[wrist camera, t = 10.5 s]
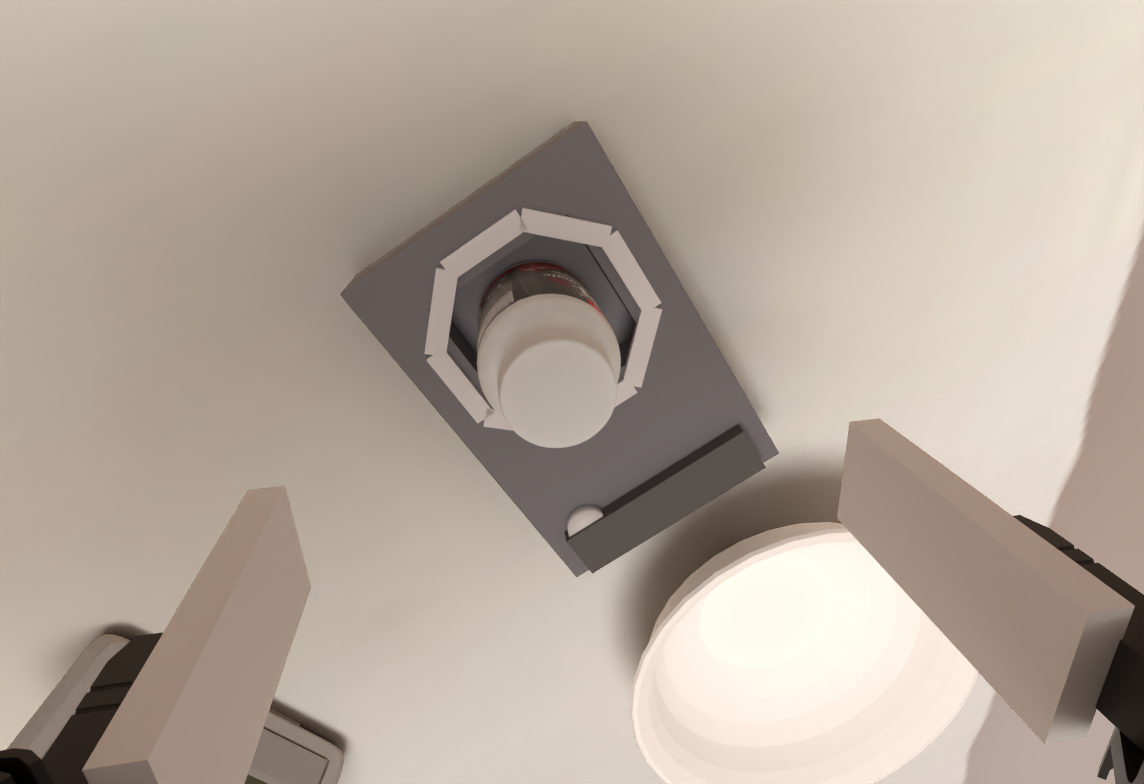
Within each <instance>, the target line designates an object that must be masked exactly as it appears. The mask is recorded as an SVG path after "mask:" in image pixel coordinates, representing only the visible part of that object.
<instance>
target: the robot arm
mask: <svg viewBox="0 0 1144 784" xmlns="http://www.w3.org/2000/svg"><path fill="white" fill-rule="evenodd" d="M837 519H838V520H839V521H840V522H841V523H842V524H843V525H844V526H845V527H846V528H847V530H848V531H849V532H850V533H851V534H852V535H853V536H854V537H855V538H856V539H857V540H858V542H859V543H860V544H861V545H862V546H863V547H864V548H865V549H866V550H867V551H868V552H869V553H870V555H871V556H872V557H873V558H874V559H875V560H876V561H877V562H878V563H879V564H880V565H881V567H882V568H883V569H884V570H885V571H886V572H887V573H888V574H889V575H890V576H891V577H892V579H893V580H894V581H895V582H896V583H897V584H898V585H899V586H900V587H901V588H902V589H903V590H904V592H905V593H906V594H907V595H908V596H909V597H910V598H911V599H912V600H913V601H914V602H915V604H916V605H917V606H918V607H919V608H920V609H921V610H922V611H923V612H924V613H925V614H926V615H927V617H928V618H929V619H930V620H931V621H932V622H933V623H934V624H935V625H936V626H937V627H938V629H939V630H940V631H941V632H942V633H943V634H944V635H945V636H946V637H947V638H948V639H949V641H950V642H951V643H952V644H953V645H954V646H955V647H956V648H957V649H958V650H959V651H960V652H961V654H962V655H963V656H964V657H965V658H966V659H967V660H968V661H969V662H970V663H971V664H972V666H973V667H974V668H975V669H976V670H977V671H978V672H979V673H980V674H981V675H982V676H983V678H984V679H985V680H986V681H987V682H988V683H989V684H990V685H991V686H992V687H993V688H994V689H995V691H996V692H997V693H998V694H999V695H1000V696H1001V697H1002V698H1003V699H1004V700H1005V701H1006V703H1007V704H1008V705H1009V706H1010V707H1011V708H1012V709H1013V710H1014V711H1015V712H1016V713H1017V714H1018V716H1019V717H1020V718H1021V719H1022V720H1023V721H1024V722H1025V723H1026V724H1027V725H1028V726H1029V727H1030V729H1031V730H1032V731H1033V732H1034V733H1035V734H1036V735H1037V736H1038V737H1039V738H1040V739H1041V741H1042V742H1043V743H1044V744H1047V743H1053V742H1058V741H1064V740H1070V739H1075V738H1081V737H1086V736H1087V733H1088V731H1089V728H1090V725H1091V723H1092V720H1093V717H1094V715H1095V712H1096V709H1098V710H1099V711H1100V712H1101V713H1102V714H1103V715H1104V716H1105V717H1106V718H1107V719H1108V720H1109V721H1111V723H1113V724H1114V725H1115V729H1114V731H1113V734H1112V736H1111V739H1110V741H1109V744H1108V746H1107V749H1106V752H1105V754H1104V757H1103V759H1102V762H1101V764H1100V767H1099V772H1098V777H1099V778H1102V779H1105V780H1106V778H1107V776H1108V773H1109V771H1110V770H1111V769H1113V768H1114V775H1115V781H1116V784H1144V595H1143V594H1142V593H1140V592H1139V591H1137V590H1136V589H1134V588H1133V587H1132V586H1130V585H1129V584H1128V583H1126V582H1125V581H1123V580H1122V579H1120V578H1119V577H1118V576H1116V575H1115V574H1113V573H1112V572H1111V571H1109V570H1108V569H1106V568H1105V567H1104V566H1102V565H1101V564H1099V563H1094V561H1093V559H1092V558H1091V557H1089V556H1088V555H1087V554H1085V553H1084V552H1082V551H1081V550H1079V549H1074V545H1072V544H1071V543H1070V542H1068V541H1067V540H1065V539H1064V538H1063V537H1061V536H1060V535H1058V534H1057V533H1055V532H1054V531H1053V530H1051V529H1050V528H1048V527H1045V526H1043V525H1041V524H1039V523H1036V522H1034V521H1032V520H1030V519H1027V518H1025V517H1023V516H1021V515H1017V516H1012V515H1010V514H1009V513H1008V512H1006V511H1005V510H1003V509H1002V508H1001V507H999V506H998V505H997V504H995V503H994V502H993V501H991V500H990V499H988V498H987V497H986V496H984V495H983V494H982V493H980V492H979V491H978V490H976V489H975V488H973V487H972V486H971V485H969V484H968V483H967V482H965V481H964V480H963V479H961V478H960V477H958V476H957V475H956V474H954V473H953V472H952V471H950V470H949V469H948V468H946V467H945V466H943V465H942V464H941V463H939V462H938V461H937V460H935V459H934V458H933V457H931V456H930V455H928V454H927V453H926V452H924V451H923V450H922V449H920V448H919V447H918V446H916V445H915V444H913V443H912V442H911V441H909V440H908V439H907V438H905V437H904V436H903V435H901V434H900V433H898V432H897V431H896V430H894V429H893V428H892V427H890V426H889V425H888V424H886V423H885V422H883V421H882V420H881V419H871V420H862V421H853V422H850V424H849V431H848V439H847V446H846V454H845V461H844V469H843V476H842V484H841V491H840V499H839V506H838V513H837ZM310 588H311V585H310V582H309V578H308V574H307V570H306V566H305V562H304V558H303V555H302V551H301V547H300V543H299V539H298V535H297V531H296V527H295V524H294V520H293V516H292V512H291V508H290V504H289V500H288V497H287V493H286V489H285V486H279V487H270V488H261V489H253V490H248V491H247V493H246V494H245V496H244V498H243V499H242V501H241V503H240V504H239V506H238V508H237V509H236V511H235V513H234V515H233V516H232V518H231V520H230V521H229V523H228V525H227V526H226V528H225V530H224V531H223V533H222V535H221V536H220V538H219V540H218V541H217V543H216V545H215V547H214V548H213V550H212V552H211V553H210V555H209V557H208V558H207V560H206V562H205V563H204V565H203V567H202V568H201V570H200V572H199V574H198V575H197V577H196V579H195V580H194V582H193V584H192V585H191V587H190V589H189V590H188V592H187V594H186V595H185V597H184V599H183V600H182V602H181V604H180V606H179V607H178V609H177V611H176V612H175V614H174V616H173V617H172V619H171V621H170V622H169V624H168V626H167V627H166V629H165V631H164V633H157V634H149V635H142V636H135V637H134V638H133V639H132V640H131V641H130V642H129V643H128V644H126V645H125V646H124V647H123V648H122V649H121V650H120V651H118V652H117V653H116V654H115V655H114V656H113V657H112V658H110V659H109V660H108V661H107V663H106V664H105V666H104V667H103V669H102V670H101V672H100V673H99V675H98V676H97V678H96V679H95V681H94V682H93V684H92V685H91V687H90V692H88V693H86V694H85V696H84V697H83V699H82V700H81V702H80V703H79V705H78V706H77V708H76V709H75V710H76V713H75V715H71V717H70V718H69V720H68V721H67V723H66V724H65V726H64V727H63V729H62V730H61V732H60V733H59V735H58V736H57V738H56V740H55V741H54V743H53V744H52V746H51V747H50V749H49V750H48V752H47V753H46V755H45V756H44V758H43V759H42V760H41V758H39V757H38V756H37V755H36V754H35V753H34V752H33V751H32V750H28V749H18V748H12V749H7V750H3V751H0V784H245V781H246V778H247V775H248V772H249V769H250V766H251V763H252V760H253V757H254V754H255V751H256V748H257V745H258V742H259V739H260V736H261V733H262V730H263V727H264V724H265V721H266V718H267V715H268V713H269V710H270V707H271V704H272V701H273V698H274V695H275V692H276V689H277V686H278V683H279V680H280V677H281V674H282V671H283V668H284V665H285V662H286V659H287V656H288V653H289V650H290V647H291V644H292V641H293V638H294V635H295V632H296V629H297V626H298V623H299V621H300V618H301V615H302V612H303V609H304V606H305V603H306V600H307V597H308V594H309V591H310Z"/></svg>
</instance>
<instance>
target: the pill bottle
mask: <svg viewBox="0 0 1144 784" xmlns="http://www.w3.org/2000/svg"><path fill="white" fill-rule="evenodd" d="M620 368H621V357H620V350H619V345H618V342H617V339H616V336H615V334H614V332H613V330H612V327H611V326H610V324H609V323H608V321H607V320H606V318H605V316H604V315H603V313H602V312H601V310H600V309H599V307H598V306H597V304H596V302H595V301H594V299H593V297H592V296H591V294H590V292H589V291H588V289H587V288H586V286H585V285H584V284H583V282H582V281H581V280H580V279H579V278H578V277H577V276H576V275H575V274H574V273H573V272H571V271H570V270H569V269H567V268H565V267H563V266H561V265H559V264H557V263H554V262H550V261H544V260H529V261H524V262H520V263H516V264H514V265H512V266H510V267H508V268H506V269H505V270H503V271H502V272H500V273H499V274H498V275H497V276H496V277H495V278H494V279H493V280H492V281H491V282H490V284H489V285H488V287H487V288H486V290H485V292H484V294H483V297H482V299H481V302H480V307H479V314H478V346H477V371H478V377H479V382H480V385H481V388H482V391H483V393H484V395H485V397H486V399H487V400H488V402H489V403H490V405H491V406H492V407H493V408H494V409H495V411H496V412H497V413H498V414H500V415H501V416H502V417H503V418H505V420H506V421H507V423H508V425H509V426H510V427H511V428H512V430H513V431H514V432H515V433H516V434H518V435H519V436H520V437H522V438H523V439H525V440H526V441H528V442H530V443H532V444H535V445H538V446H542V447H547V448H564V447H570V446H574V445H577V444H580V443H582V442H584V441H586V440H588V439H590V438H591V437H593V436H594V435H595V434H597V433H598V432H599V431H600V430H601V429H602V428H603V427H604V425H605V424H606V423H607V421H608V420H609V418H610V417H611V415H612V413H613V410H614V407H615V404H616V399H617V383H618V379H619V375H620Z"/></svg>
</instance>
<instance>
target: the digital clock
mask: <svg viewBox="0 0 1144 784" xmlns="http://www.w3.org/2000/svg"><path fill="white" fill-rule="evenodd" d="M129 642H130V640H129V639H126V638H124V637H121V636H118V635H113V634H105V635H102V636H100V637H98V638H97V639H96V640H94V641H93V642H92V643H91V644H90V645H89V646H88V647H87V648H86V650H85V651H84V652H83V653H82V654H81V655H80V657H79V658H78V659H77V661H76V662H75V663H74V664H73V666H72V667H71V668H70V669H69V671H68V672H67V673H66V675H65V676H64V677H63V678H62V680H61V681H60V682H59V683H58V685H57V686H56V687H55V688H54V690H53V691H52V692H51V694H50V695H49V696H48V697H47V699H46V700H45V701H44V702H43V704H42V705H41V706H40V708H39V709H38V710H37V711H36V713H35V714H34V715H33V716H32V718H31V719H30V720H29V722H28V723H27V724H26V725H25V727H24V728H23V729H22V730H21V732H20V733H19V734H18V735H17V737H16V738H15V739H14V741H13V742H12V743H11V744H10V746H9V747H8V748H7V749H12V748H18V749H28V750H32V751H33V752H34V753H35V754H36V755H37V756H38V757H39V758H41V760H42V759H43V758H44V756H45V755H46V753H47V752H48V750H49V749H50V747H51V746H52V744H53V743H54V741H55V740H56V738H57V736H58V735H59V733H60V732H61V730H62V729H63V727H64V726H65V724H66V723H67V721H68V720H69V718H70V717H71V715H75V713H76V710H75V709H76V708H77V706H78V705H79V703H80V702H81V700H82V699H83V697H84V696H85V694H86V693H88V692H90V687H91V685H92V684H93V682H94V681H95V679H96V678H97V676H98V675H99V673H100V672H101V670H102V669H103V667H104V666H105V664H106V663H107V661H108V660H109V659H110V658H112V657H113V656H114V655H115V654H116V653H117V652H118V651H120V650H121V649H122V648H123V647H124V646H125V645H126V644H128V643H129ZM7 749H6V750H7ZM343 762H344V758H343V754H342V752H341V750H340V749H339V748H338V747H337V746H335V745H334V744H332V743H330V742H328V741H327V740H325V739H323V738H321V737H319V736H317V735H315V734H313V733H311V732H309V731H307V730H305V729H303V728H301V727H300V723H299V722H297V721H295V720H293V719H291V718H289V717H287V716H285V715H283V714H281V713H279V712H277V711H275V710H273V709H271V708H270V710H269V713H268V715H267V718H266V721H265V724H264V727H263V730H262V733H261V736H260V739H259V742H258V745H257V748H256V751H255V754H254V757H253V760H252V763H251V766H250V769H249V772H248V775H247V778H246V781H245V784H337V783H338V780H339V777H340V774H341V771H342V767H343Z"/></svg>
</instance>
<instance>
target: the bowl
mask: <svg viewBox="0 0 1144 784" xmlns="http://www.w3.org/2000/svg"><path fill="white" fill-rule="evenodd" d="M978 673H979V672H978V671H977V670H976V669H975V668H974V667H973V666H972V664H971V663H970V662H969V661H968V660H967V659H966V658H965V657H964V656H963V655H962V654H961V652H960V651H959V650H958V649H957V648H956V647H955V646H954V645H953V644H952V643H951V642H950V641H949V639H948V638H947V637H946V636H945V635H944V634H943V633H942V632H941V631H940V630H939V629H938V627H937V626H936V625H935V624H934V623H933V622H932V621H931V620H930V619H929V618H928V617H927V615H926V614H925V613H924V612H923V611H922V610H921V609H920V608H919V607H918V606H917V605H916V604H915V602H914V601H913V600H912V599H911V598H910V597H909V596H908V595H907V594H906V593H905V592H904V590H903V589H902V588H901V587H900V586H899V585H898V584H897V583H896V582H895V581H894V580H893V579H892V577H891V576H890V575H889V574H888V573H887V572H886V571H885V570H884V569H883V568H882V567H881V565H880V564H879V563H878V562H877V561H876V560H875V559H874V558H873V557H872V556H871V555H870V553H869V552H868V551H867V550H866V549H865V548H864V547H863V546H862V545H861V544H860V543H859V542H858V540H857V539H856V538H855V537H854V536H853V535H852V534H851V533H850V532H849V531H848V530H847V528H846V527H845V526H844V525H843V524H840V523H833V522H816V523H798V524H794V525H789V526H784V527H780V528H775V529H771V530H767V531H765V532H762V533H760V534H757V535H755V536H752V537H749V538H747V539H744V540H742V541H739V542H738V543H736V544H734V545H732V546H731V547H729V548H727V549H726V550H724V551H722V552H720V553H719V554H717V555H715V556H713V557H712V558H711V559H710V560H708V561H707V562H706V563H705V564H703V565H702V566H701V567H700V568H698V569H697V570H696V571H695V572H694V573H692V574H691V575H690V576H689V577H688V578H687V579H686V580H685V581H684V582H683V584H682V585H681V586H680V587H679V588H678V589H677V590H676V592H675V593H674V594H673V595H672V596H671V597H670V599H669V600H668V602H667V604H666V605H665V607H664V609H663V610H662V612H661V614H660V615H659V617H658V619H657V620H656V623H655V626H654V629H653V631H652V634H651V637H650V640H649V643H648V646H647V647H646V649H645V651H644V652H643V654H642V657H641V660H640V663H639V665H638V668H637V671H636V674H635V677H634V680H633V683H632V693H631V703H630V715H631V721H632V727H633V733H634V737H635V739H636V741H637V743H638V746H639V748H640V750H641V752H642V754H643V756H644V758H645V760H646V761H647V762H648V764H649V765H650V766H651V767H652V768H653V769H654V770H655V771H656V773H657V774H658V775H659V776H660V777H661V778H662V779H663V780H664V781H665V782H666V783H668V784H873V783H875V782H877V781H878V780H880V779H882V778H884V777H886V776H888V775H890V774H891V773H893V772H894V771H895V770H897V769H898V768H900V767H901V766H903V765H904V764H906V763H907V762H909V761H910V760H911V759H913V758H914V757H916V756H917V755H918V754H919V753H920V752H921V751H922V750H923V749H925V748H926V747H927V746H928V745H929V744H930V743H931V742H932V741H933V740H935V739H936V738H937V737H938V736H939V735H940V734H941V733H942V731H943V730H944V729H945V728H946V726H947V725H948V724H949V723H950V722H951V720H952V719H953V718H954V717H955V716H956V714H957V713H958V712H959V711H960V709H961V707H962V705H963V704H964V702H965V700H966V699H967V697H968V695H969V694H970V692H971V690H972V688H973V687H974V684H975V682H976V679H977V676H978Z"/></svg>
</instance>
